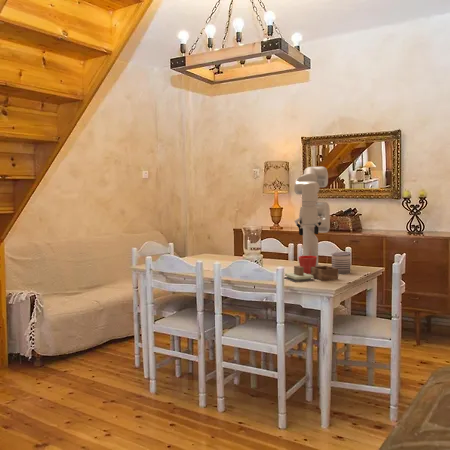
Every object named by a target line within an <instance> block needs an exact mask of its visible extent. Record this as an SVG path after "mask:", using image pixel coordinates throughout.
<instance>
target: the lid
mask: <svg viewBox="0 0 450 450" xmlns="http://www.w3.org/2000/svg"><path fill="white" fill-rule="evenodd" d="M284 274H285V276H284V277H289V278H291V279H294V280H297V281H298V280H309V278H311V279H314V276H313V275H311V274H306V273H304V267H301V266H300V265H293V272H287V273H284Z"/></svg>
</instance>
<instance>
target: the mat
mask: <svg viewBox="0 0 450 450" xmlns="http://www.w3.org/2000/svg"><path fill="white" fill-rule="evenodd" d="M284 277H285V278H284V280H287V281H290V282H293V283H301V282H302V283H303V282H313V281H315V280H316V279H314V278H309V280H298V281H297V280H294V279H291V278H289V277H287V276H284Z"/></svg>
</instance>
